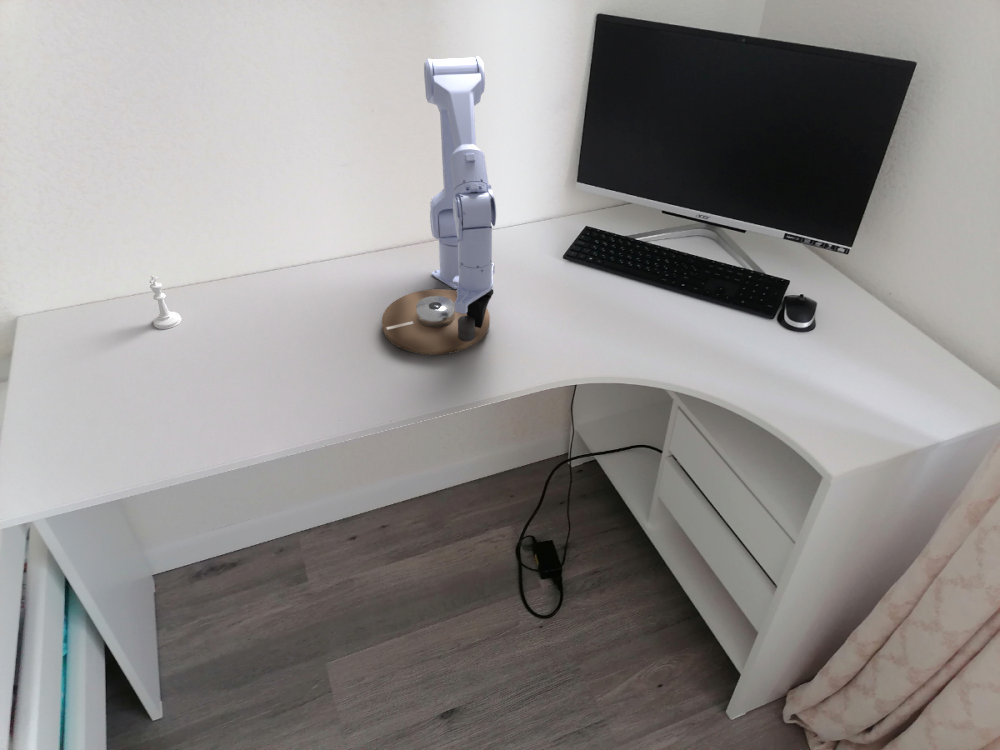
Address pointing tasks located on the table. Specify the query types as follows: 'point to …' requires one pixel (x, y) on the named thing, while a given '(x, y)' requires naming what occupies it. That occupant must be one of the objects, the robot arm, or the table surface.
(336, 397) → the table surface
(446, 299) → the cover
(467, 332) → the turntable
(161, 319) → the chess piece
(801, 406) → the table surface
